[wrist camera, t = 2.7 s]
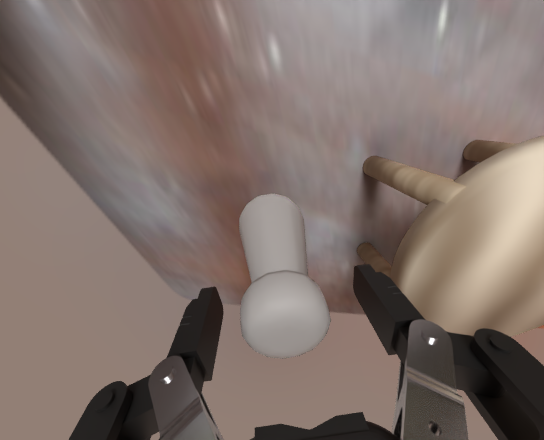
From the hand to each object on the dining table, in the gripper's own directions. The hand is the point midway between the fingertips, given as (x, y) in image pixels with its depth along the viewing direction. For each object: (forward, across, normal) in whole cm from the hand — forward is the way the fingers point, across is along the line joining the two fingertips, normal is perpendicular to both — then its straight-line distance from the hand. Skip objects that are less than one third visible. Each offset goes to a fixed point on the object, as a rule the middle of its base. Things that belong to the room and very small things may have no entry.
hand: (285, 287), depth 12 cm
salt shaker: (+10, 0, 0) cm, 10 cm away
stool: (+10, -15, +1) cm, 18 cm away
